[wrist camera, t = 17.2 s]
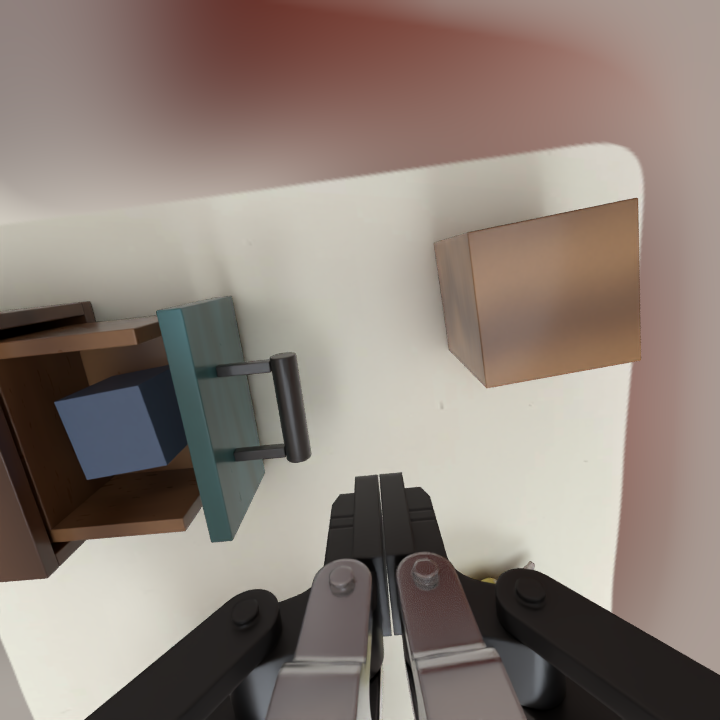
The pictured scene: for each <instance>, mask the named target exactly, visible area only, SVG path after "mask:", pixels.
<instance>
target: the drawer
mask: <svg viewBox="0 0 720 720" xmlns="http://www.w3.org/2000/svg"><path fill="white" fill-rule="evenodd" d="M156 314H157V316H149V317H139V318H130V319H121V320H112V321H103V322H93V323H84V324H75V325H68V326H63V327H58V328H53V329H48V330H43V331H39V332H34V333H29V334H24V335H19V336H15V337H10V338H5V339H0V405H1V408H2V410H3V413H4V416H5V419H6V421H7V424H8V427H9V430H10V432H11V435H12V438H13V441H14V444H15V446H16V449H17V452H18V455H19V457H20V460H21V463H22V466H23V468H24V471H25V474H26V477H27V480H28V482H29V485H30V488H31V491H32V493H33V496H34V499H35V502H36V504H37V507H38V510H39V513H40V516H41V518H42V521H43V524H44V527H45V529H46V532H47V535H48V538H49V540H50V543H53V542H65V541H77V540H88V539H100V538H111V537H123V536H135V535H146V534H158V533H169V532H181V531H186V530H187V528H188V527H189V525H190V524H191V522H192V521H193V519H194V518H195V516H196V515H197V513H198V512H199V510H200V509H201V507H202V506H203V510H204V514H205V518H206V522H207V527H208V531H209V535H210V539H211V542H224V541H232V540H233V539H234V537H235V535H236V533H237V530H238V528H239V526H240V524H241V522H242V520H243V518H244V516H245V514H246V512H247V510H248V507H249V505H250V503H251V501H252V499H253V497H254V495H255V493H256V491H257V489H258V486H259V484H260V482H261V480H262V478H263V476H264V474H265V470H264V464H263V459H271V458H282V457H287V460H288V461H289V462H292V463H299V462H303V461H305V460H307V459H309V458H310V457H311V448H310V441H309V435H308V428H307V422H306V415H305V409H304V402H303V396H302V389H301V383H300V376H299V370H298V363H297V357H296V354H295V353H292V352H286V353H279V354H275V355H273V356H271V357H270V359H268V360H258V361H248V362H244V358H243V353H242V348H241V343H240V337H239V332H238V327H237V321H236V316H235V311H234V305H233V300H232V296H224V297H215V298H210V299H205V300H201V301H197V302H192V303H188V304H183V305H179V306H174V307H170V308H165V309H161V310H157V311H156ZM166 365H169V368H170V372H171V376H172V380H173V385H174V389H175V393H176V397H177V401H178V406H179V410H180V414H181V418H182V422H183V426H184V431H185V435H186V439H187V443H188V445H187V446H186V447H185V448H184V449H183V450H182V451H181V452H180V453H179V454H178V455H177V456H176V457H175V458H174V459H173V460H172V461H171V462H170V463H169V464H168V465H166V466H161V467H155V468H150V469H145V470H139V471H134V472H128V473H123V474H117V475H112V476H106V477H101V478H95V479H90V480H87V479H86V476H85V474H84V472H83V469H82V467H81V465H80V462H79V460H78V458H77V455H76V453H75V451H74V448H73V446H72V443H71V441H70V439H69V436H68V434H67V432H66V429H65V427H64V425H63V422H62V420H61V418H60V415H59V413H58V410H57V408H56V406H55V403H54V402H55V401H57V400H59V399H62V398H64V397H66V396H68V395H71V394H73V393H75V392H77V391H80V390H82V389H84V388H86V387H89V386H91V385H93V384H95V383H98V382H100V381H102V380H104V379H107V378H109V377H111V376H116V375H121V374H126V373H131V372H136V371H141V370H146V369H151V368H156V367H161V366H166ZM271 371H272V375H273V381H274V387H275V393H276V398H277V404H278V410H279V416H280V422H281V428H282V433H283V439H284V444H274V445H264V446H260V443H259V438H258V433H257V427H256V422H255V417H254V411H253V406H252V401H251V395H250V390H249V385H248V380H247V375H249V374H259V373H268V372H271Z"/></svg>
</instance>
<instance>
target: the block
mask: <svg viewBox="0 0 720 720" xmlns="http://www.w3.org/2000/svg"><path fill="white" fill-rule="evenodd" d="M54 403H55V406H56V408H57V410H58V413H59V415H60V418H61V420H62V422H63V425H64V427H65V429H66V432H67V434H68V436H69V439H70V441H71V443H72V446H73V448H74V451H75V453H76V455H77V458H78V460H79V462H80V465H81V467H82V469H83V472H84V474H85V476H86V479H87V480H90V479H95V478H101V477H106V476H112V475H117V474H123V473H128V472H134V471H139V470H145V469H150V468H155V467H161V466H166V465H168V464H169V463H170V462H171V461H172V460H173V459H174V458H175V457H176V456H177V455H178V454H179V453H180V452H181V451H182V450H183V449H184V448H185V447H186V446H187V445H188V443H187V439H186V435H185V431H184V426H183V422H182V418H181V414H180V410H179V406H178V401H177V397H176V393H175V389H174V385H173V380H172V376H171V372H170V368H169V365H166V366H161V367H156V368H151V369H146V370H141V371H136V372H131V373H126V374H121V375H116V376H111V377H109V378H107V379H104V380H102V381H100V382H98V383H95V384H93V385H91V386H89V387H86V388H84V389H82V390H80V391H77V392H75V393H73V394H71V395H68V396H66V397H64V398H62V399H59V400H57V401H55V402H54Z"/></svg>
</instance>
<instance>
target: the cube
mask: <svg viewBox="0 0 720 720" xmlns="http://www.w3.org/2000/svg"><path fill="white" fill-rule="evenodd" d="M434 248H435V255H436V262H437V269H438V276H439V283H440V290H441V297H442V304H443V311H444V318H445V325H446V332H447V338H448V345H449V350H450V351H451V352H452V353H453V354H454V355H455V356H456V358H457V359H458V360H459V361H460V362H461V363H462V364H463V365H464V366H465V367H466V368H467V369H468V370H469V371H470V372H471V373H472V374H473V375H474V376H475V377H476V378H477V379H478V380H479V381H480V382H481V383H482V384H483V385H484V386H485V387H486V388H491V387H496V386H502V385H507V384H513V383H519V382H524V381H530V380H535V379H541V378H546V377H552V376H557V375H563V374H568V373H574V372H579V371H585V370H591V369H596V368H602V367H607V366H613V365H618V364H624V363H629V362H635V361H640V360H641V341H640V340H641V339H640V338H641V336H640V279H639V223H638V198H633V199H628V200H623V201H618V202H613V203H608V204H604V205H599V206H594V207H589V208H584V209H579V210H574V211H569V212H565V213H560V214H555V215H550V216H545V217H540V218H535V219H530V220H526V221H521V222H516V223H511V224H506V225H501V226H496V227H491V228H487V229H482V230H477V231H472V232H468V233H464V234H461V235H458V236H454V237H451V238H448V239H445V240H441V241H438V242H435V243H434Z"/></svg>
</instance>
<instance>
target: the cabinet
mask: <svg viewBox="0 0 720 720" xmlns="http://www.w3.org/2000/svg"><path fill="white" fill-rule="evenodd" d="M93 322H96V321H95V317H94V314H93V310H92V307H91V303H90V301H87V302H78V303H69V304H60V305H51V306H42V307H33V308H24V309H15V310H6V311H0V339H5V338H10V337H15V336H19V335H24V334H29V333H34V332H39V331H43V330H48V329H53V328H58V327H63V326H68V325H75V324H84V323H93ZM85 541H86V540H77V541H65V542H53V543H50V540H49V538H48V535H47V532H46V529H45V527H44V524H43V521H42V518H41V516H40V513H39V510H38V507H37V504H36V502H35V499H34V496H33V493H32V491H31V488H30V485H29V482H28V480H27V477H26V474H25V471H24V468H23V466H22V463H21V460H20V457H19V455H18V452H17V449H16V446H15V444H14V441H13V438H12V435H11V432H10V430H9V427H8V424H7V421H6V419H5V416H4V413H3V410H2V408H1V405H0V582H9V581H21V580H33V579H45V578H48V577H49V576H50V575H51V574H52V573H54V572H55V571H56V570H57V569H58V567H59V566H60V565H61V564H62V563H63V562H65V561H66V560H67V559H68V558H69V557H70V556H71V555H72V554H73V553H74V552H75V551H76V550H77V549H78V548H79V547H80V546H81V545H82V544H83V543H84V542H85Z"/></svg>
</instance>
